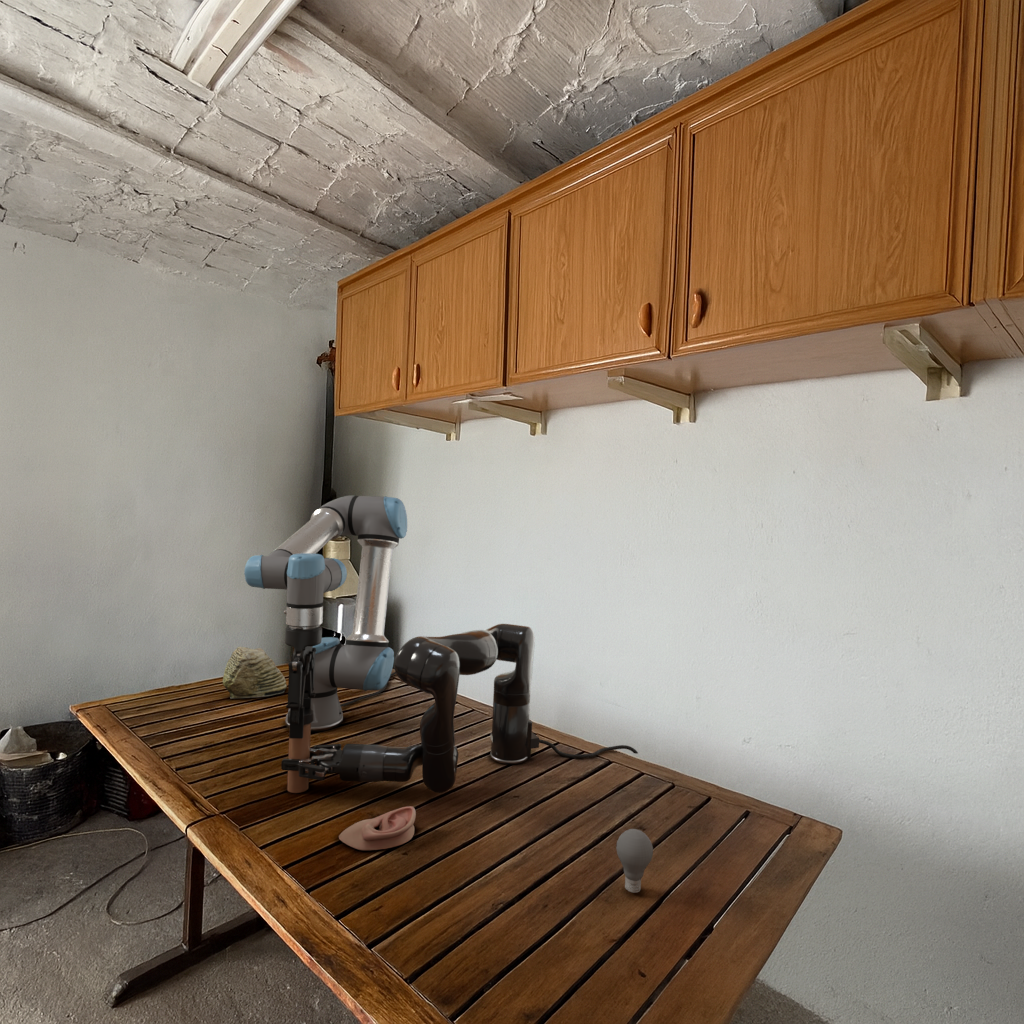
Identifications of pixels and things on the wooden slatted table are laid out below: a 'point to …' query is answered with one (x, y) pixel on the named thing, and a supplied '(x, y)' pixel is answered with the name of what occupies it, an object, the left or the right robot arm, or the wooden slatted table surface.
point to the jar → (300, 751)
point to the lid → (305, 716)
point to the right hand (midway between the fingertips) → (286, 759)
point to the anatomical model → (381, 830)
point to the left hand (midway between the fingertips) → (299, 732)
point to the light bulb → (634, 857)
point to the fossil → (252, 674)
